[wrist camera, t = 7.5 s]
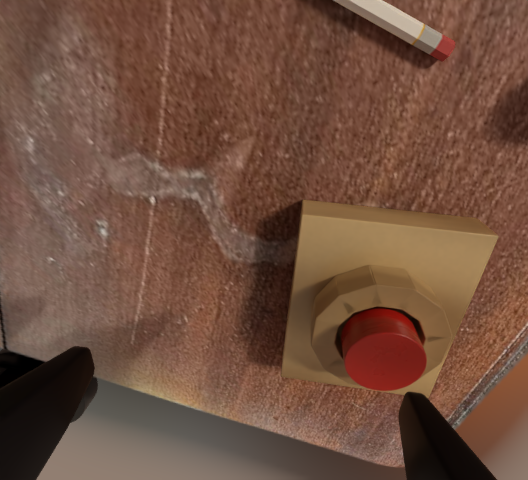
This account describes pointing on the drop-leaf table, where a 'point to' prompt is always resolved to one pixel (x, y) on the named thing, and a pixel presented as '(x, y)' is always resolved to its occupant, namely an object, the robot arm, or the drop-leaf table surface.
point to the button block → (379, 283)
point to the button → (382, 350)
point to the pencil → (402, 26)
